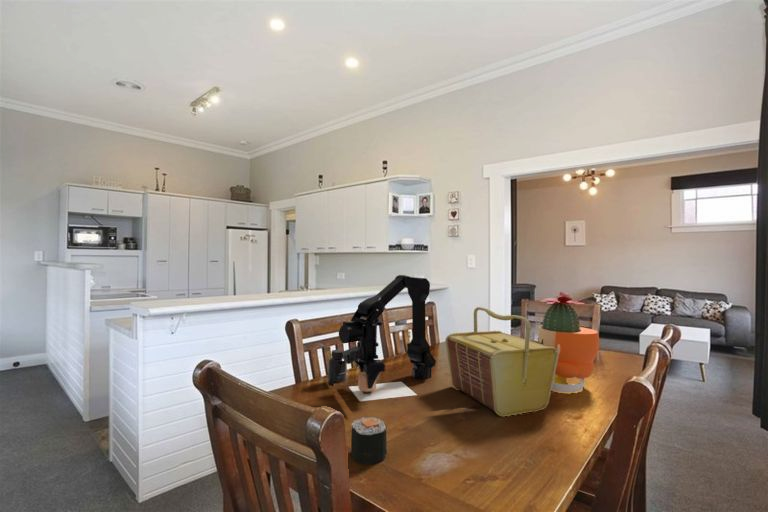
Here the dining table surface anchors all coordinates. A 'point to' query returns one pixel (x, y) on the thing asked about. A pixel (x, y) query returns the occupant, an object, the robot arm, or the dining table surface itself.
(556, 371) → the potted cactus
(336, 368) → the supplement bottle
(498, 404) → the picnic basket
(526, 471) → the dining table surface
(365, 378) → the terracotta cap
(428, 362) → the robot arm
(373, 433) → the sushi
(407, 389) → the off-white board
